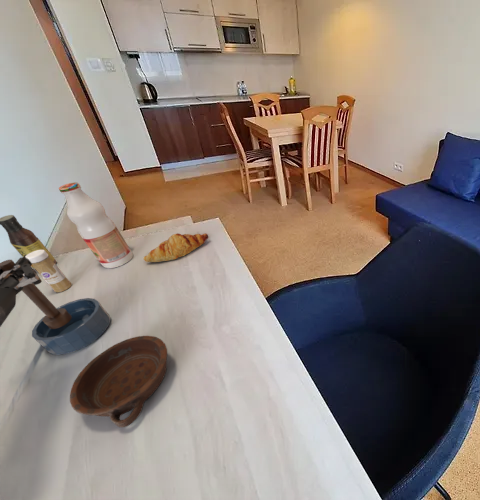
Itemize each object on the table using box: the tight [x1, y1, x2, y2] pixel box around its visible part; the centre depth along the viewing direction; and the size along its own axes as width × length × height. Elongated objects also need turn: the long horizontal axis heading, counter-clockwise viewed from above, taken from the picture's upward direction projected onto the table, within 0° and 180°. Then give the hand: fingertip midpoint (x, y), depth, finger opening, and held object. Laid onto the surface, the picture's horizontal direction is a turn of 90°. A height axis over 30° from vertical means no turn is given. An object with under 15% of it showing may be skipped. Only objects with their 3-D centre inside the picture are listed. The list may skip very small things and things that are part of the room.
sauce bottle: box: [0, 214, 57, 271], centre depth 100 cm, size 6×6×20 cm
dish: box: [69, 335, 168, 428], centre depth 63 cm, size 18×22×5 cm
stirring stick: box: [0, 259, 72, 329], centre depth 67 cm, size 4×4×18 cm
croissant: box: [143, 232, 209, 263], centre depth 104 cm, size 21×10×8 cm, turn 125°
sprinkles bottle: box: [26, 250, 73, 293], centre depth 91 cm, size 5×5×14 cm
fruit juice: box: [58, 181, 134, 269], centre depth 97 cm, size 9×9×28 cm
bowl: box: [31, 297, 111, 356], centre depth 76 cm, size 14×14×6 cm
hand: (18, 262), depth 65 cm, fingers closed on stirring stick, 2 cm apart
